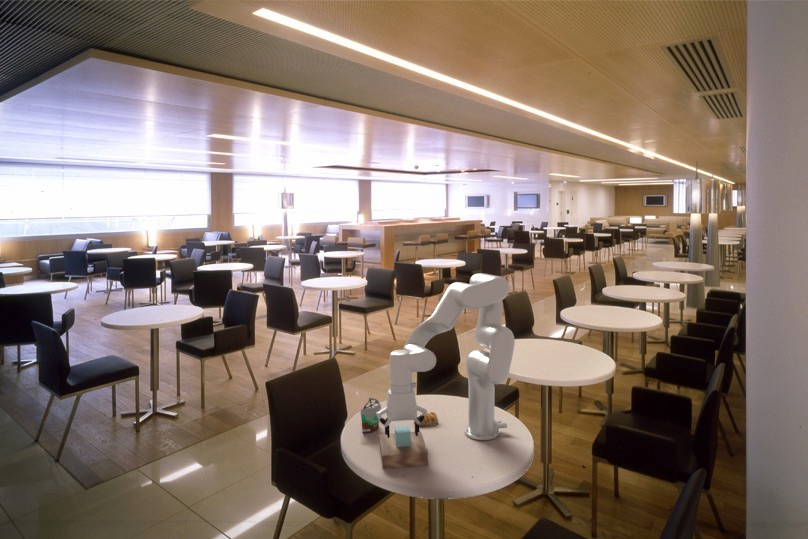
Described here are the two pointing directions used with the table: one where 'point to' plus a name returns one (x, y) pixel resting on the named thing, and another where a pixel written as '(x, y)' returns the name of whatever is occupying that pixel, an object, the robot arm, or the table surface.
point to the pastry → (429, 419)
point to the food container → (370, 416)
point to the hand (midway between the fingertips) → (402, 435)
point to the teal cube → (402, 436)
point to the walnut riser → (403, 452)
